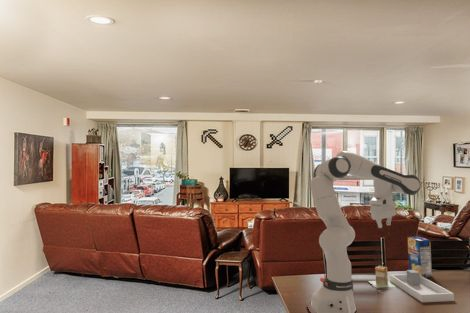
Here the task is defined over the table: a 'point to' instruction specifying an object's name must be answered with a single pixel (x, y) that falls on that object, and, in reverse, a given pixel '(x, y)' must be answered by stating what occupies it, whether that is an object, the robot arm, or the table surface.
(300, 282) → the table surface
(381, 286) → the sage board
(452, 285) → the table surface
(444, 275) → the table surface
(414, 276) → the grey box
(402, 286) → the bin
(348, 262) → the robot arm
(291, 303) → the table surface
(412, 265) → the beverage box
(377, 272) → the banded box
